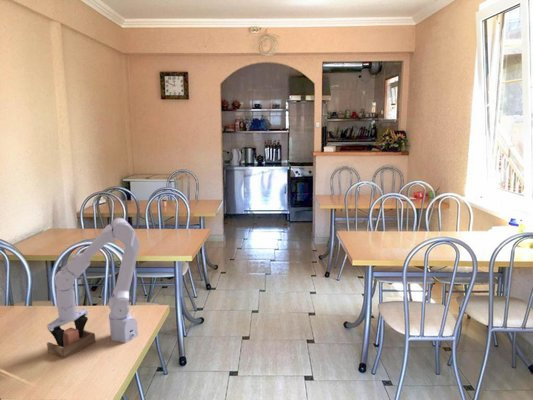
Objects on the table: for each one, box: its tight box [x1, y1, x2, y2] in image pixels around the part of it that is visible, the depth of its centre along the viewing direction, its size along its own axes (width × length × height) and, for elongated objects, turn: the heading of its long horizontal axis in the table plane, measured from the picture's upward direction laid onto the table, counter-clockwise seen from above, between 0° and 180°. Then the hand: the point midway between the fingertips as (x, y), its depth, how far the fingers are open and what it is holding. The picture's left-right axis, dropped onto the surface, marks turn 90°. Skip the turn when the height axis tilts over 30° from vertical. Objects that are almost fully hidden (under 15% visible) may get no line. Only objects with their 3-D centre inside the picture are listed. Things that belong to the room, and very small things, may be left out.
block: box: [63, 327, 79, 347], centre depth 158 cm, size 4×4×6 cm
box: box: [46, 329, 96, 359], centre depth 158 cm, size 9×13×4 cm
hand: (70, 341), depth 158 cm, fingers open, 7 cm apart
